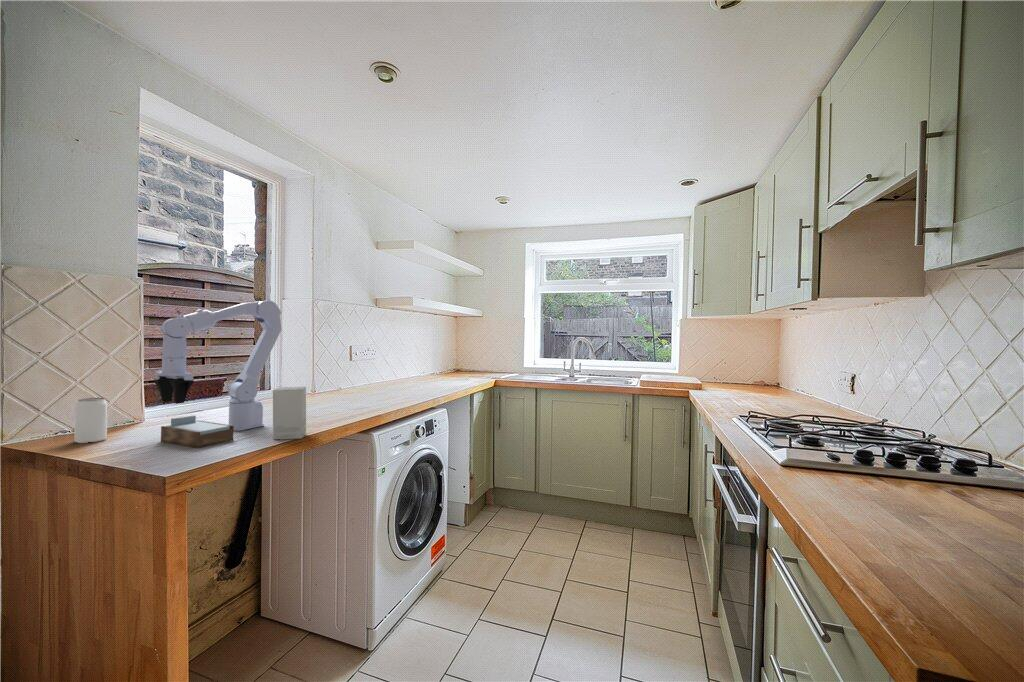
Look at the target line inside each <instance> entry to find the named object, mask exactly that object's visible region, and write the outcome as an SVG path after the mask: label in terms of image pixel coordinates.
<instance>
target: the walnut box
mask: <svg viewBox="0 0 1024 682" xmlns="http://www.w3.org/2000/svg"><path fill="white" fill-rule="evenodd" d="M196 421H199V422H206V423H213V424H220V425H226V426H230V428H229V430H224V431H218V432H213V433H208V434H203V435H200V432H197V431H191V430H185V429H178V428H172V427H166V426H167V425H161V426H160V442H162V443H167V444H173V445H177V446H178V445H179V446H184V447H189V448H195V449H201V448H204V447H205V448H206V447H209V446H213V445H219V444H222V442H223V443H227V442H226V441H228V442H231V441H230V440H232V441H234V431H235V430H234V426H233V425H229V424H225V423H218V422H212V421H205V420H198V419H197V420H196ZM218 443H219V444H218Z"/></svg>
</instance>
